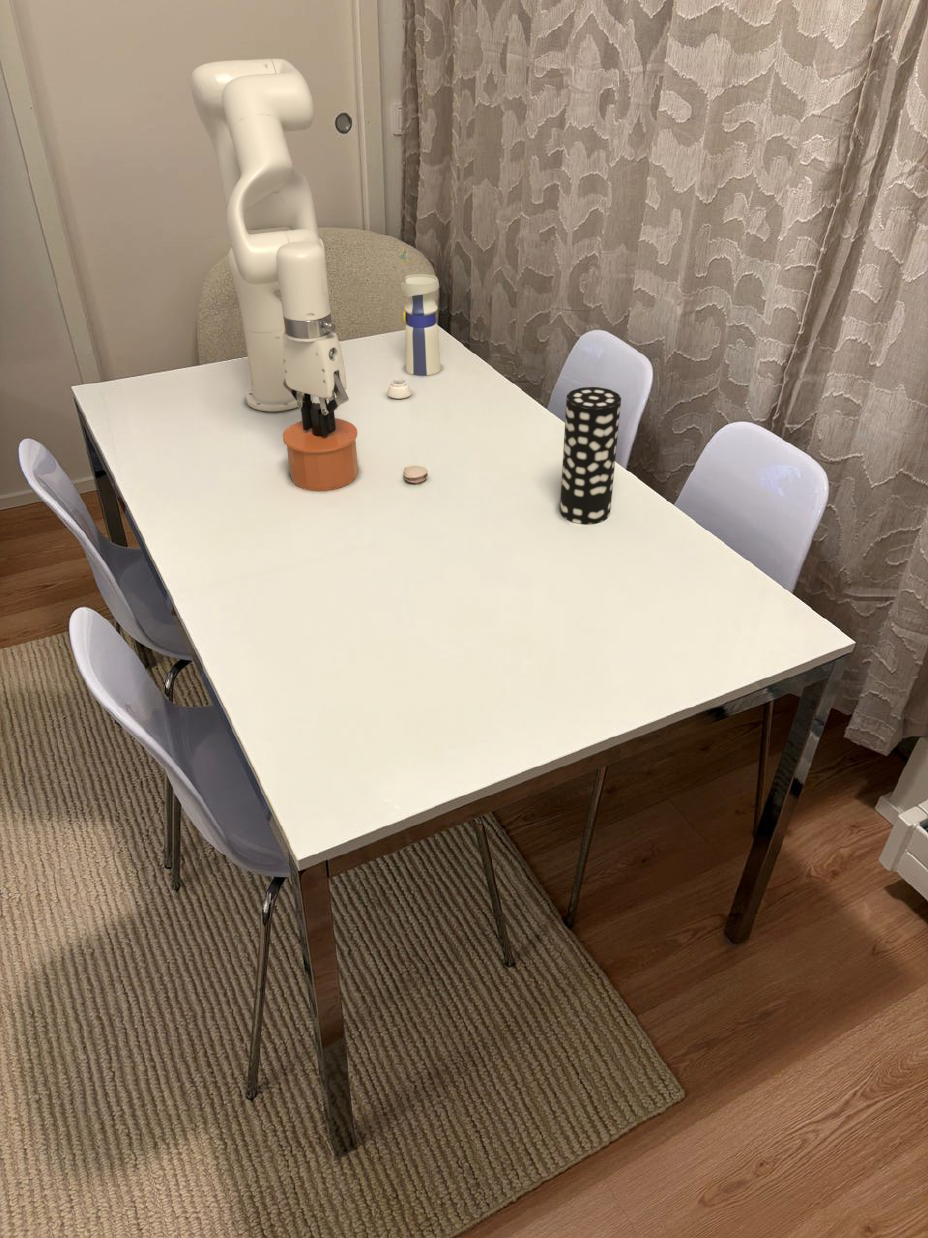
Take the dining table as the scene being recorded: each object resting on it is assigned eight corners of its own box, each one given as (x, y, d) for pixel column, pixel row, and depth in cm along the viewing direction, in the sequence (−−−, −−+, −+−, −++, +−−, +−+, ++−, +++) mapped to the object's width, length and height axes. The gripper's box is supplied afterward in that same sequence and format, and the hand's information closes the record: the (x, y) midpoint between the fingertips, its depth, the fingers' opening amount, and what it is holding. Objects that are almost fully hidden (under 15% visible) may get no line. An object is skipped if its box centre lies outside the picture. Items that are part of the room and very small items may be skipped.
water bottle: (399, 375, 202) (393, 255, 187) (408, 360, 209) (402, 243, 194) (437, 377, 201) (433, 257, 186) (444, 362, 208) (441, 245, 193)
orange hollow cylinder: (320, 453, 173) (316, 415, 168) (371, 469, 168) (368, 431, 163) (277, 479, 165) (271, 440, 160) (329, 497, 160) (324, 457, 155)
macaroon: (413, 488, 162) (412, 475, 160) (395, 478, 165) (394, 465, 163) (432, 480, 164) (432, 467, 163) (414, 470, 167) (413, 457, 166)
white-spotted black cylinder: (616, 504, 157) (628, 392, 145) (601, 528, 151) (611, 412, 139) (569, 494, 160) (577, 383, 148) (552, 517, 154) (558, 403, 142)
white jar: (386, 400, 192) (410, 400, 192) (385, 386, 190) (410, 386, 190) (388, 390, 196) (412, 390, 196) (387, 376, 194) (411, 376, 194)
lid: (316, 417, 169) (312, 385, 166) (372, 433, 164) (370, 401, 160) (267, 444, 161) (262, 411, 157) (325, 462, 155) (321, 428, 151)
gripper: (363, 327, 149) (371, 433, 160) (285, 309, 156) (297, 411, 167) (333, 341, 144) (343, 450, 155) (253, 322, 151) (269, 427, 162)
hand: (319, 429), depth 161 cm, fingers open, 3 cm apart
